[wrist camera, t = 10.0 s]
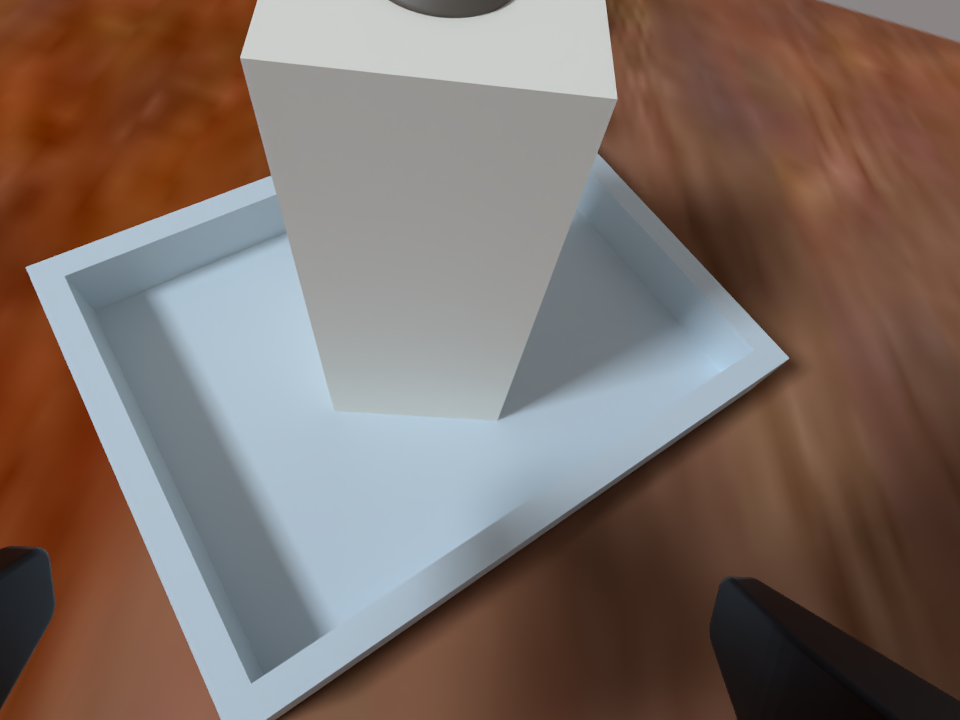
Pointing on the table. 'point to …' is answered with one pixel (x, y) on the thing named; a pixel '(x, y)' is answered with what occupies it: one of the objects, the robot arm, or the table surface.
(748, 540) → the table surface
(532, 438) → the tray
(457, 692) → the table surface
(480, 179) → the bored block
